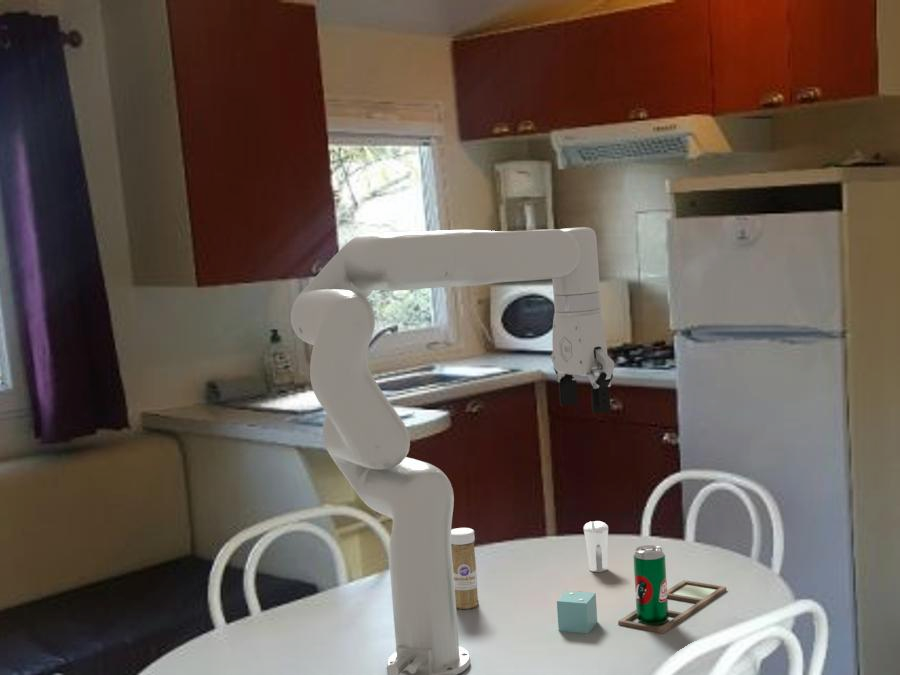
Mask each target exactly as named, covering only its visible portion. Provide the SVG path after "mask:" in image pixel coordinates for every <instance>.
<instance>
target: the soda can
mask: <svg viewBox="0 0 900 675" xmlns="http://www.w3.org/2000/svg"><path fill="white" fill-rule="evenodd" d="M634 550H635V552H634V554H633V557H632V558H633V571H634V572H633V573H634V588H635V589H634V591H635V592H634V593H635V607H636V609H635V610H637V617H636V619H637V620H638V621H639V623H642V624H647V625H652V626H659V625H664V624H666V623H667V620H668V619H669V616H668V610H669V605H668V604H669V603H668V602H669V601H668V598H667V590H668V585H667V582H668V581H667V564H666V562H667V561H666V554H665V553H664V552H663V548H662V546H661V547H660V546H659V545H641V546H637V547H635V549H634Z"/></svg>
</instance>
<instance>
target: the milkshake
mask: <svg viewBox="0 0 900 675" xmlns="http://www.w3.org/2000/svg"><path fill="white" fill-rule="evenodd" d="M583 533H584V538H585V540H584V541H585V545H586V553H587V561H588V568H589V571H590V572H592V573H603V572H606V571H607V570H608V541H609V540H608V538H609V525H608V524H606V522H603V521H600V520H595V521H589V522H586V523H585V524H584V525H583Z"/></svg>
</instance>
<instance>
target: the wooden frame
mask: <svg viewBox="0 0 900 675" xmlns="http://www.w3.org/2000/svg"><path fill="white" fill-rule="evenodd" d="M726 591H727V587H726V586H723V585H722V586H721V585H716V584H711V583H705V582H704V583H703V582H697V581H691V580H685V579H683V580H681V581H680V582H678V583H677V584H675V585H673V586H671V587H670V588H669V589H667V599H671V600H676V601H682V602H687V603H692V604H693V605H692V606H690V607H689V608H687V609H686V610H683V612H680V611H675V610H669V609H668V617H674V618H672V619H671V620H669V621H668V622H665V623H664V624H662V626H658V625H647V624H643V623H641V622H636V621H635V622H634V621H632V620H634V619H635V618H637V610H636V609H634V610H633V611H631V612H630V613H629V614H627V615H626V616H624V617H622V618H620V619H619V620H617V624H618V626H624V627H627V628H628V627H629V628H633V629H634V628H635V629H639V630H644V631H648V632H649V631H650V632H653V633H657V634H658V633H660V634H664V633H666V632H667V631H669V630H670V629H672V628H673V627H675V626H676V625H678V624H680V623H681V622H682V621H684V620H685V619H686V618H688V617H690V616H691V615H693V614H694V613H695V612H696V611H698V610H700V609H702V608H703V607H704V606H706V605H707V604H708V603H710V602H711V601H713V600H715V599H716V598H717V597H719V596H720V595H722V594H723V593H724V592H726Z"/></svg>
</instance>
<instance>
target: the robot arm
mask: <svg viewBox="0 0 900 675" xmlns="http://www.w3.org/2000/svg"><path fill="white" fill-rule="evenodd" d="M540 280H551V281H552V291H553V292H552V293H553V305H554V314H553V321H552V353H551V354H550V359H551V361H552V364H553V365H552V366H553V371H554V373H555V374H556V377H555V378H556V382H558V391H559V392H558V394H559V396H558V397H559V406H561V407H566V406H573V405H577V404H578V403H579V400H578V399H579V398H578V385H577V379H575V376H576V377H585V376H587V378H588V380H589V382H590V384H591V386H592V387H593V388H590V401H591V412H592V414H600V413H605V412H610V411H611V408H612V407H611V392H610V387H611V386H612V379H613V377H614V368H615V361H614V360H613V359H612V358H611V357H610V356H609V355H608V347H607V340H606V332H605V327H604V325H605V324H604V322H603V321H604V320H603V316H602V303H601V302H602V301H601V287H600V284H601V283H600V271H599V256H598V243H597V235H596V232H595V230H594V229H593V228H591V227H585V226H583V227H581V226H580V227H568V228H559V229H553V228H552V229H551V228H550V229H533V230H514V231H513V230H508V231H507V230H506V231H505V230H503V231H501V230H499V231H495V230H492V231H491V230H480V229H479V230H478V229H477V230H476V229H452V230H450V229H449V230H434V231H433V230H429V231H426V230H425V231H407V232H406V231H405V232H404V231H402V232H400V231H399V232H385V233H384V232H383V233H382V232H380V233H368V234H365V233H364V234H359V235H358V236H355V237H353V238H352V239H351V240H349V241H348V242H347V243H346V244H344V245H343V246H342V247H341V248H340V250H338V252H337V253H336V254H335V255H333V257H332V258H331V259H330V260H329V261H328V262H327V263H326V264H325V266H323V267H322V268H321V270H320V271H319V273H318V274H316V276H315V277H313V278H312V280H311V281H310V282H309V283H308V284H307V285H306V286H305V287H304V289H303V290H302V291H301V292H300V293H299V294H298V296H297V297H296V299H295V301H294V303H293V304H292V308H291V310H290V323H291V327H292V329H293V332H294V334H296V336H297V337H298V338H299V339H300V340H301V341H303V342H304V343H306V344H308V345H312V351H311V355H310V363H309V364H310V365H309V380H310V384H311V387H312V388H311V389H312V390H313V393H314V395H315V397H316V399H317V401H318V403H319V404H320V406H321V407H322V408H323V410H324V412H325V414H326V416H325V418H324V421H323V424H322V438H323V439H322V440H323V443H324V447H325V449H326V451H327V452H328V454H329V455H330V457H331V459H332V460H333V462H334V463H335V465H336V466H337V468H338V469H339V470H340V472H341V473H342V474H343V476H344V477H345V479H346V481H347V482H348V484H349V485H350V486H351V487H352V489H353V490H354V492H355V493H356V494H357V495H358V497H359V498H360V499H361V501H362V502H363V503H364V504H365V505H367V507H368V508H370V509H371V510H372V511H374V512H376V513H379V514H380V515H383V516H385V517H387V518H390V519H391V520H392V527H391V528H392V529H391V533H390V538H389V542H388V545H389V546H388V562H389V565H388V566H389V574H390V587H391V588H390V589H391V597H392V598H391V600H392V612H393V623H394V625H393V626H394V637H395V650H396V651H395V652H394V653H393V654H392V655H390V656H389V658H388V659H387V662H386V664H387V667H386V673H387V675H459V674H461V673H463V672H465V671H466V670H467V669H468V668H469V666H470V664H471V656H470V653H469V651H468V650H467V649H465V648H464V647H462V646H460V643H459V641H460V640H459V630H458V629H459V628H458V615H457V608H456V600H455V586H454V573H453V562H452V547H451V530H452V523H453V512H454V505H455V504H454V502H455V498H454V497H455V495H454V488H453V487H452V483H451V481H450V479H449V478H448V476H447V475H446V474H445V473H444V472H443V470H441V469H440V468H439V467H437V466H435V465H433V464H432V463H429V462H426V461H422V460H419V459H415V458H412V457H407V455H408V454H409V452H410V447H411V441H410V434H409V431H408V428H407V426H406V425H405V422H404V421H403V419H402V418H401V417H400V415H399V414H398V413H397V411H396V410H395V408H394V407H393V406H392V404H391V402H390V401H389V399H388V398H387V396H386V395H385V393H384V392H383V390H382V389H381V387H380V386H379V384H378V383H377V381H376V379H375V377H374V375H373V374H372V372H371V370H370V367H369V364H368V363H369V361H368V353H369V347H370V344H371V341H372V337H373V335H374V330H375V324H376V317H375V316H376V315H375V311H374V308H373V305H372V304H371V302H370V301H369V300H368V297H369V296H370V295H371V293H373V291H384V292H386V291H387V292H388V291H389V292H394V291H396V292H397V291H409V290H410V291H412V290H423V289H425V290H426V289H436V288H455V287H469V286H470V287H471V286H473V287H474V286H483V285H491V284H496V283H507V282H508V283H509V282H510V283H511V282H525V281H540ZM597 376H598V377H597Z"/></svg>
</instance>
